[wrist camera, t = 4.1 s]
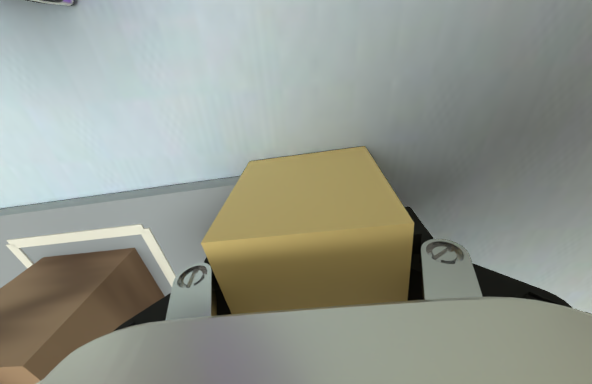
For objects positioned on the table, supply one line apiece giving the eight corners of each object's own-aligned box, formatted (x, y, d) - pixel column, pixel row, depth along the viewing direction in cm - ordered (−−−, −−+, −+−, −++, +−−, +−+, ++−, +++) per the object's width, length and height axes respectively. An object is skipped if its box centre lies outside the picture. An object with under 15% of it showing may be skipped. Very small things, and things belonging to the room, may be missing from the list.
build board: (244, 175, 12) (239, 184, 11) (288, 324, 18) (286, 339, 17) (-45, 215, 14) (-71, 226, 13) (73, 336, 20) (61, 349, 19)
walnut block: (134, 247, 14) (22, 366, 8) (176, 316, 16) (112, 438, 11) (43, 257, 14) (-114, 371, 9) (98, 321, 17) (2, 437, 12)
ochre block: (364, 146, 11) (414, 223, 6) (367, 239, 14) (403, 351, 8) (249, 161, 12) (200, 243, 6) (272, 247, 14) (250, 356, 9)
